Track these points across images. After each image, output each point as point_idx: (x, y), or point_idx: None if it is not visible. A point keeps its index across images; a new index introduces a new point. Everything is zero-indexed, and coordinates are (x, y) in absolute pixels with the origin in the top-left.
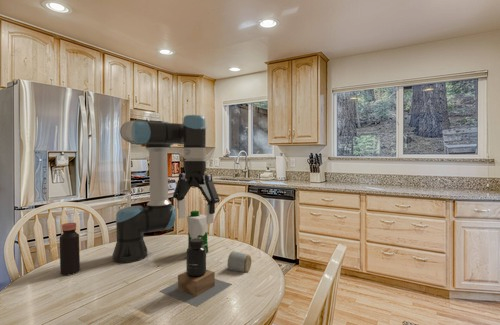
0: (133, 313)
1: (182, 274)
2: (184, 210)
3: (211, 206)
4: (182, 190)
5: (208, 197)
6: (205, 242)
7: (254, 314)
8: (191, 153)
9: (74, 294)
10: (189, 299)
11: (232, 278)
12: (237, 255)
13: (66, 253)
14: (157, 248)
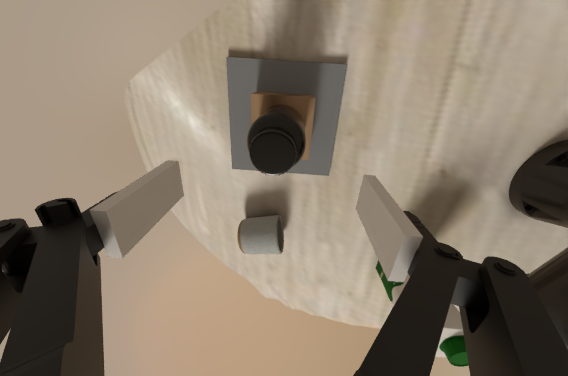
0: None
1: (307, 107)
2: (367, 225)
3: (84, 214)
4: (413, 326)
5: (36, 256)
6: (383, 278)
7: (136, 103)
8: None
9: None
10: (259, 72)
11: (256, 194)
12: (258, 239)
13: None
14: (509, 242)
